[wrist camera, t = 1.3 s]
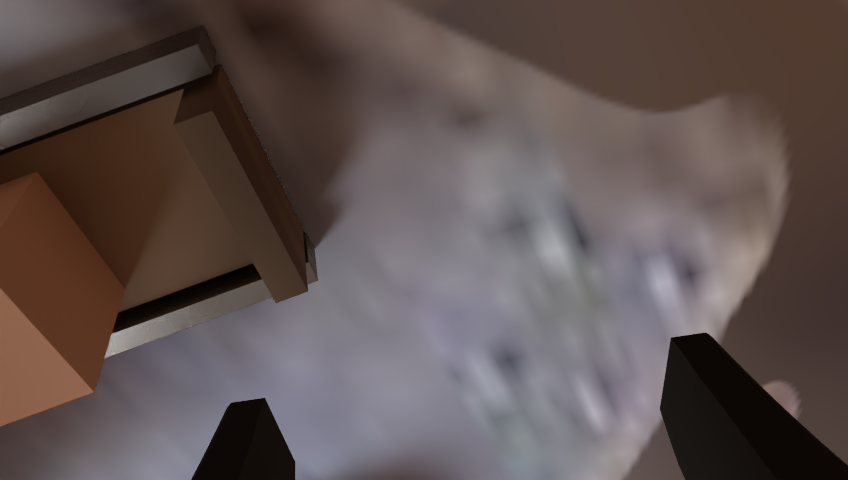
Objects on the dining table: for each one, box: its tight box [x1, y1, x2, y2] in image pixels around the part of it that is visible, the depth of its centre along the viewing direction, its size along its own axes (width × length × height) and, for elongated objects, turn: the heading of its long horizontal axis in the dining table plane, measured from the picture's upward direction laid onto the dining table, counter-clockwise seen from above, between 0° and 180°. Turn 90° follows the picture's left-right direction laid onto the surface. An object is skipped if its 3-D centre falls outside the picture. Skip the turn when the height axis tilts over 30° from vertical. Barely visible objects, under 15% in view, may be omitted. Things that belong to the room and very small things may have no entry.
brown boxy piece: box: [0, 64, 308, 313], centre depth 19 cm, size 16×6×4 cm, turn 106°
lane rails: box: [0, 26, 318, 358], centre depth 20 cm, size 14×8×2 cm, turn 106°
